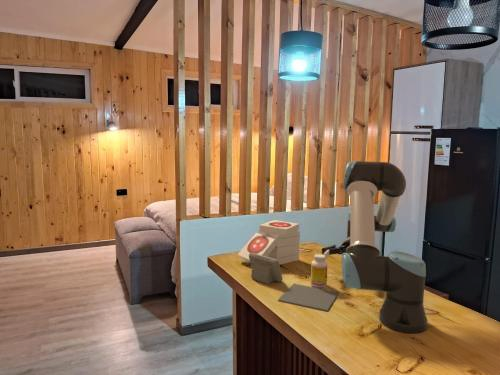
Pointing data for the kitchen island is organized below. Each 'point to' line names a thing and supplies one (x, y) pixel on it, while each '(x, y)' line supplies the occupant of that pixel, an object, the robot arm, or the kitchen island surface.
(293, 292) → the mat
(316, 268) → the supplement bottle
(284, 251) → the pizza boxes
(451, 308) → the kitchen island surface
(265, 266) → the digital clock
